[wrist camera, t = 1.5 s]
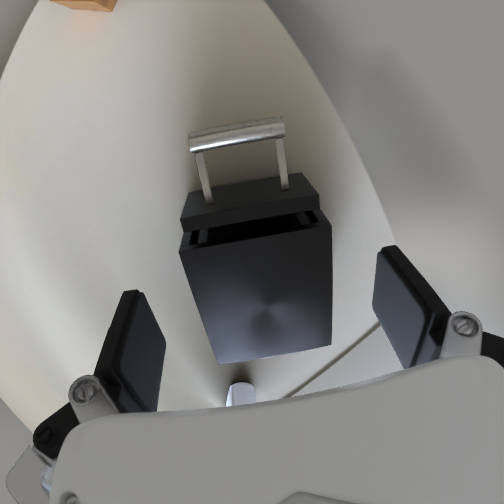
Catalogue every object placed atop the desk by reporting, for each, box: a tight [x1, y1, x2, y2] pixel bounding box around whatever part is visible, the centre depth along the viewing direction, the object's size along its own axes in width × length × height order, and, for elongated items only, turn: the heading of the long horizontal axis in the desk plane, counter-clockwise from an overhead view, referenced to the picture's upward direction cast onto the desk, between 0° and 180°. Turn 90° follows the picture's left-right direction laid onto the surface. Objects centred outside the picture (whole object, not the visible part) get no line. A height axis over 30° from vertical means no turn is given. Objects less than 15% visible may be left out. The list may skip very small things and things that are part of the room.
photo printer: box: [226, 382, 256, 407], centre depth 41 cm, size 10×4×12 cm, turn 172°
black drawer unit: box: [179, 209, 333, 364], centre depth 29 cm, size 14×12×8 cm
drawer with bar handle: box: [180, 117, 320, 243], centre depth 26 cm, size 18×10×6 cm, turn 9°
